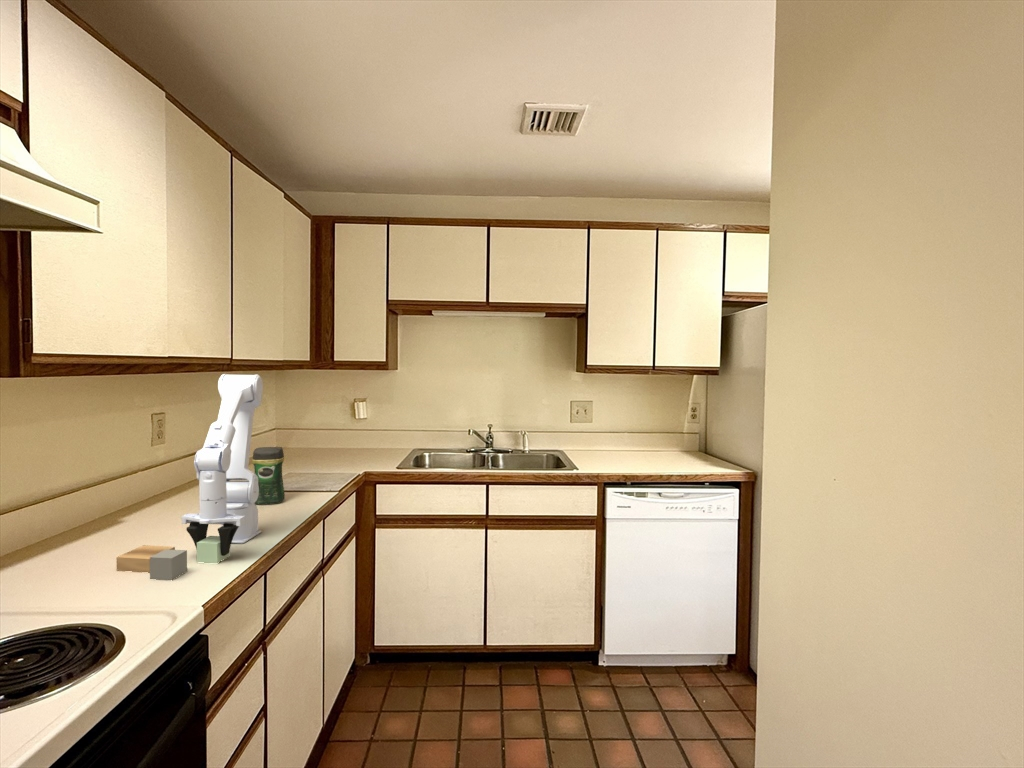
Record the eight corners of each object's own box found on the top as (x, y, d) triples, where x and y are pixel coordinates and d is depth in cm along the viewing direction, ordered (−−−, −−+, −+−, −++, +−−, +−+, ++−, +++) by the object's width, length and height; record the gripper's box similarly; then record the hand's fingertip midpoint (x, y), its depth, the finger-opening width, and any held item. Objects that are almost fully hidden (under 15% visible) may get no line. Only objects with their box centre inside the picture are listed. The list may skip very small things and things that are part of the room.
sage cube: (210, 555, 134) (209, 535, 134) (229, 556, 134) (229, 536, 133) (196, 563, 129) (196, 542, 129) (217, 564, 129) (217, 543, 128)
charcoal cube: (165, 571, 124) (165, 549, 124) (187, 571, 124) (186, 550, 124) (150, 579, 119) (149, 557, 119) (172, 580, 119) (171, 558, 119)
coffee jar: (286, 498, 188) (286, 445, 187) (281, 504, 180) (281, 448, 179) (256, 499, 186) (255, 445, 185) (250, 505, 178) (249, 449, 177)
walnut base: (143, 559, 131) (143, 545, 131) (174, 561, 131) (174, 546, 131) (116, 572, 124) (116, 557, 123) (149, 574, 123) (149, 559, 123)
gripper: (172, 501, 127) (173, 558, 128) (232, 503, 126) (233, 561, 127) (192, 493, 134) (192, 548, 135) (249, 495, 133) (249, 550, 134)
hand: (213, 553), depth 131 cm, fingers open, 5 cm apart
